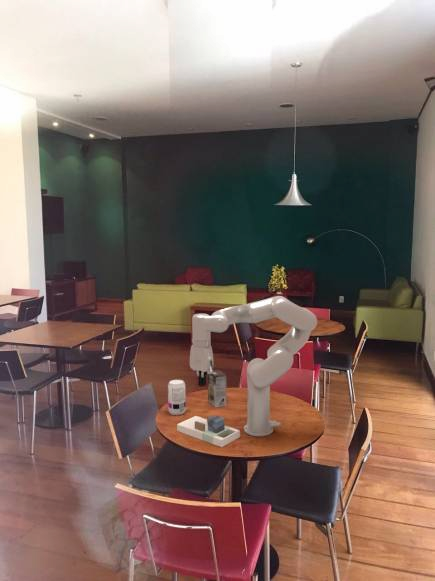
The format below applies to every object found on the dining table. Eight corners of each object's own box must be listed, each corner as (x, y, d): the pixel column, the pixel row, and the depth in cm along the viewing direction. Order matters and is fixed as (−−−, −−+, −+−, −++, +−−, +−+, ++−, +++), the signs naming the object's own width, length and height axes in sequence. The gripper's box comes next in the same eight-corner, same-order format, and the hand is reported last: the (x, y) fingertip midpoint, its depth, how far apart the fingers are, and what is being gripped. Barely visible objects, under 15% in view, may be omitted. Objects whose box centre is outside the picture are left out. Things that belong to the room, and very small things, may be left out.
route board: (239, 437, 197) (239, 423, 196) (221, 447, 187) (221, 433, 187) (195, 422, 212) (195, 409, 212) (177, 430, 203) (176, 417, 203)
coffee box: (207, 401, 238) (207, 371, 236) (219, 399, 241) (218, 369, 239) (215, 407, 230) (214, 375, 228) (226, 405, 232) (226, 374, 230)
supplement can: (165, 413, 223) (164, 383, 221) (174, 407, 230) (174, 378, 228) (179, 416, 219) (179, 385, 217) (188, 410, 226) (188, 380, 224)
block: (224, 429, 197) (224, 418, 196) (216, 433, 193) (216, 421, 193) (215, 426, 200) (215, 415, 200) (207, 430, 197) (207, 418, 196)
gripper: (182, 342, 199) (183, 384, 201) (209, 347, 189) (209, 391, 192) (194, 339, 205) (195, 379, 207) (221, 343, 195) (221, 386, 197)
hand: (202, 385), depth 199 cm, fingers closed
